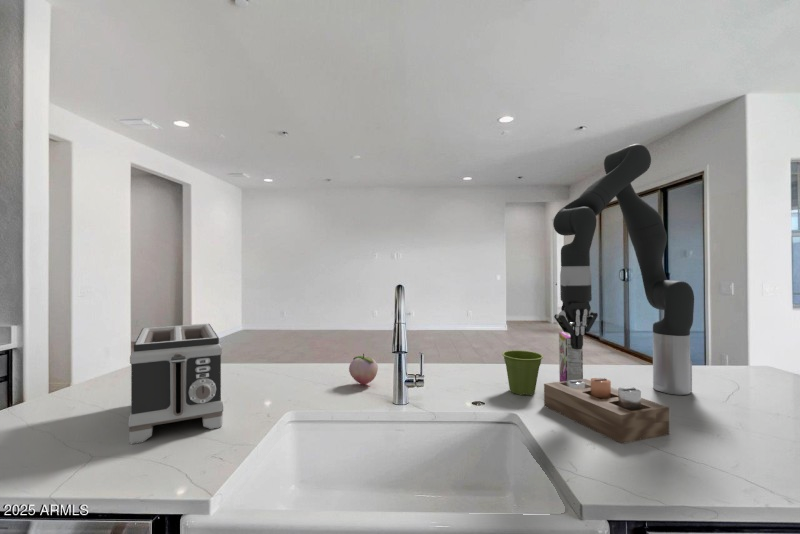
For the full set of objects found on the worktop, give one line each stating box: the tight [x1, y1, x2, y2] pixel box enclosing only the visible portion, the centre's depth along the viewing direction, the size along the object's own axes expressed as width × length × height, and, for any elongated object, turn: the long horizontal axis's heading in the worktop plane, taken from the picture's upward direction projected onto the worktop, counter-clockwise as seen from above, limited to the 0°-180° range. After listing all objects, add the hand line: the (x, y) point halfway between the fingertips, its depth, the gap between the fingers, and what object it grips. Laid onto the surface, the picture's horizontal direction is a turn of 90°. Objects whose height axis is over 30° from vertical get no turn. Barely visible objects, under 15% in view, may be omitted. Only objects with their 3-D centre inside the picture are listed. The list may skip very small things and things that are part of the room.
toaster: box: [127, 323, 224, 444], centre depth 97 cm, size 18×34×21 cm, turn 30°
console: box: [543, 378, 670, 444], centre depth 96 cm, size 14×24×6 cm, turn 19°
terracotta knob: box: [590, 377, 612, 398], centre depth 96 cm, size 4×4×4 cm
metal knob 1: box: [567, 380, 585, 390], centre depth 103 cm, size 4×4×4 cm
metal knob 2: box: [617, 386, 642, 409], centre depth 88 cm, size 4×4×4 cm
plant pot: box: [501, 349, 544, 396], centre depth 117 cm, size 12×12×11 cm
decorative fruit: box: [348, 353, 379, 386], centre depth 124 cm, size 9×8×10 cm
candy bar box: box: [558, 331, 584, 382], centre depth 121 cm, size 11×5×16 cm, turn 168°
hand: (576, 348), depth 103 cm, fingers closed
